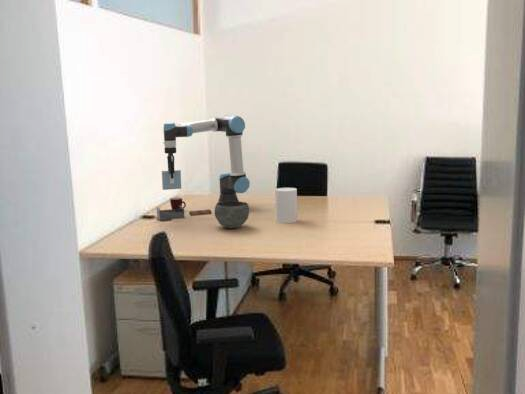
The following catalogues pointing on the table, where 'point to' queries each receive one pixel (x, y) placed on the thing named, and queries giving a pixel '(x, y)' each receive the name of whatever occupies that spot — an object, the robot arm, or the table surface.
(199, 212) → the stand
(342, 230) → the table surface
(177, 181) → the light blue slab
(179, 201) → the mug
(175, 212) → the rack
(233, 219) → the bowl
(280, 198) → the canister
